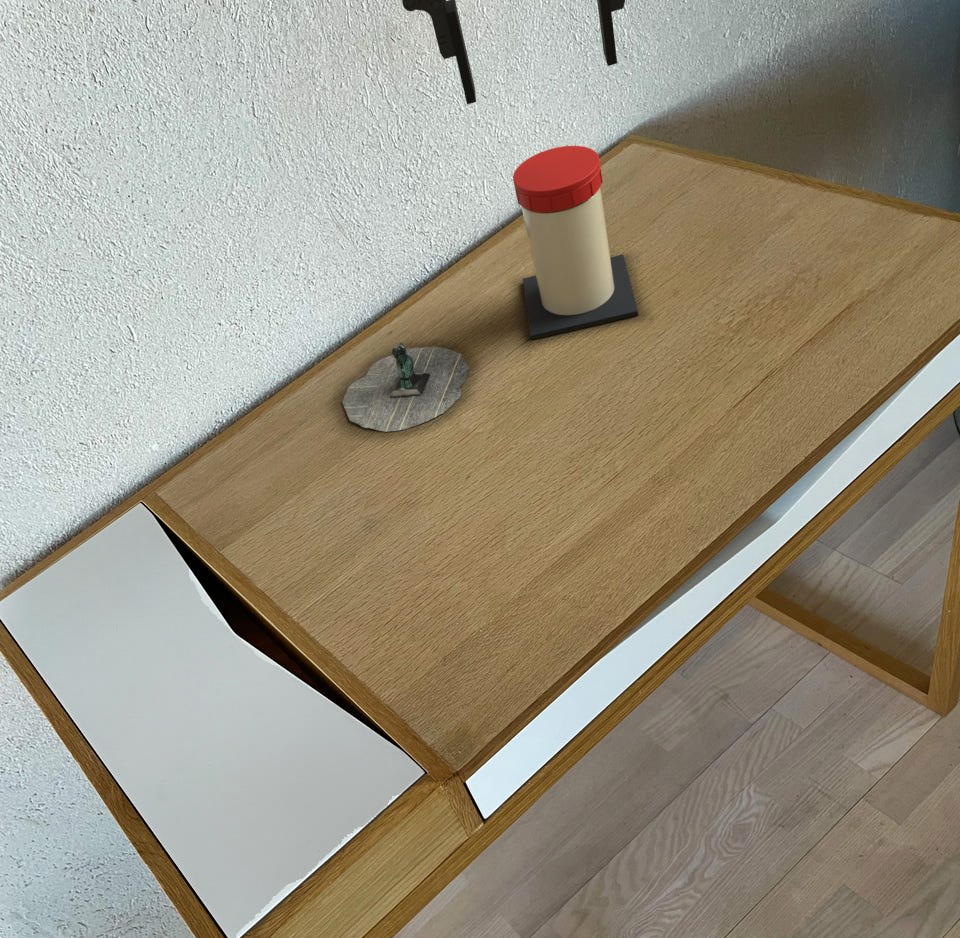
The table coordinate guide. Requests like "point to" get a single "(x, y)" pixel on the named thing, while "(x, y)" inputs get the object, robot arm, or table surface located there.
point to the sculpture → (406, 388)
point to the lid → (557, 178)
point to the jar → (571, 256)
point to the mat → (611, 310)
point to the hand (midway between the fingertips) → (539, 77)
